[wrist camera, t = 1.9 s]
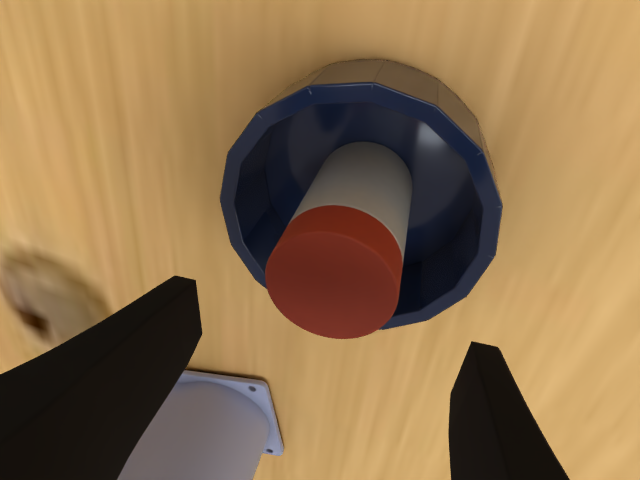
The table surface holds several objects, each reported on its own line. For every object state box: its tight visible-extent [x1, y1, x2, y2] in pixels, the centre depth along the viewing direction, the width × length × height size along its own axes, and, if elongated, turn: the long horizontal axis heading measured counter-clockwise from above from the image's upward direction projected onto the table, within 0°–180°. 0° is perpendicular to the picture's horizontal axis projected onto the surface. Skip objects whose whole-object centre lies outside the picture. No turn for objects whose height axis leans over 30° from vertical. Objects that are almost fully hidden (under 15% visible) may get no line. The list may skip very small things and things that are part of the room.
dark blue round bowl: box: [220, 59, 503, 330], centre depth 17 cm, size 10×10×4 cm
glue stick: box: [265, 142, 412, 339], centre depth 15 cm, size 4×4×7 cm
